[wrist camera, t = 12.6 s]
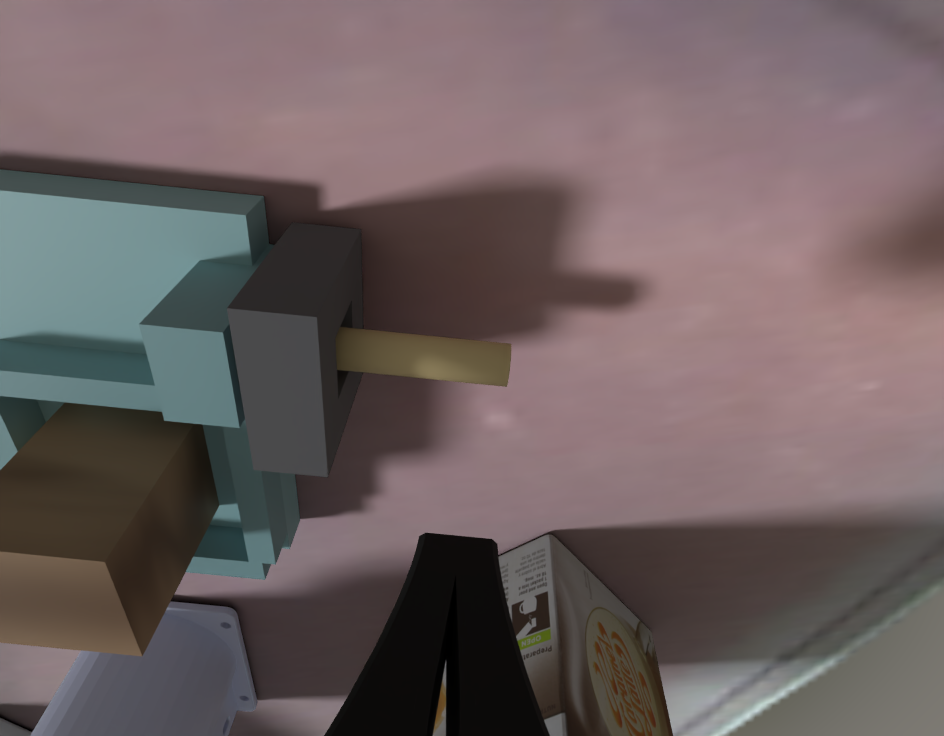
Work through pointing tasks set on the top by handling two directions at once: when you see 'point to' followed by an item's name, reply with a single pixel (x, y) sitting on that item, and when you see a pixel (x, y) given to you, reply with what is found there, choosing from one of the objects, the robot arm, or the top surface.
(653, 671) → the coffee box
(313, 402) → the block
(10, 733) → the skincare box
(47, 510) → the brown wooden block
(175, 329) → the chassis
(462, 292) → the top surface
